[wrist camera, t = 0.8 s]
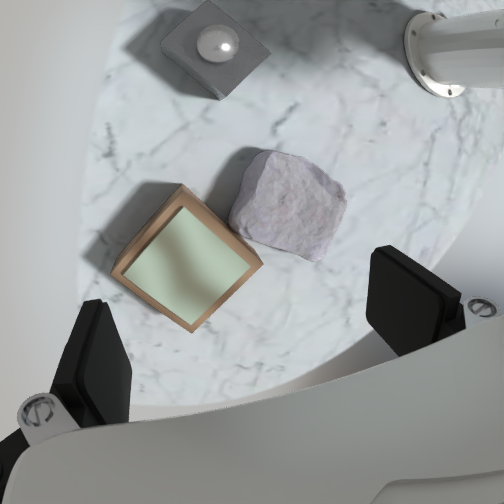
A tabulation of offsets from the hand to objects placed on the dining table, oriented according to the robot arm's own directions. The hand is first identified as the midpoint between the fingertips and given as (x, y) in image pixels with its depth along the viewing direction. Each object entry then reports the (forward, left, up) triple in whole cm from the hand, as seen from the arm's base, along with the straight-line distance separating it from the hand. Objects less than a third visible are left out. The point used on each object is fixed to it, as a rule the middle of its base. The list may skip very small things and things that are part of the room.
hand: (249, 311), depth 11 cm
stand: (+7, +4, -24) cm, 26 cm away
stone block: (-5, +8, -25) cm, 27 cm away
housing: (-10, -9, -25) cm, 28 cm away
